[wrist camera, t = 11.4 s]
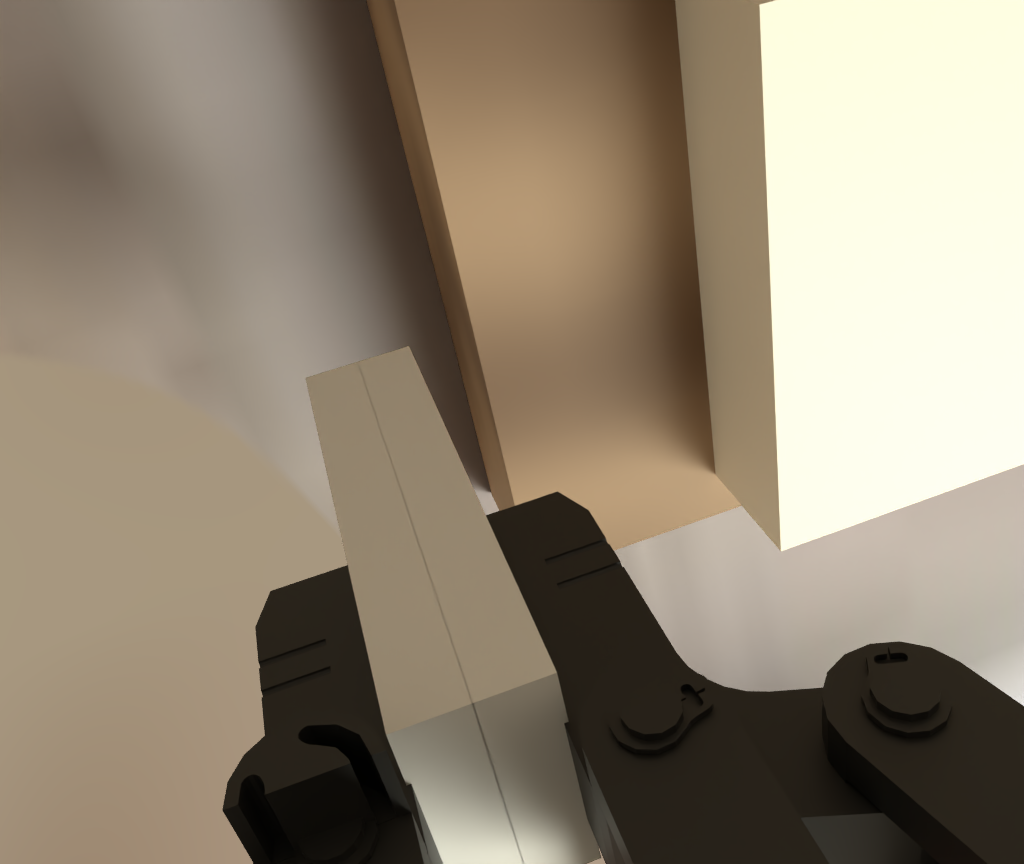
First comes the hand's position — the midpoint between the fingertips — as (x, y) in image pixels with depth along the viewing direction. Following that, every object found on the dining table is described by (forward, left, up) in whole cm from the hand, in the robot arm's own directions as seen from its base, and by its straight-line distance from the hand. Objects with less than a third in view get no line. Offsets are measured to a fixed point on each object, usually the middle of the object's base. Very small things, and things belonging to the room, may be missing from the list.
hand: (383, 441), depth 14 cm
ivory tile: (0, +9, -2) cm, 9 cm away
